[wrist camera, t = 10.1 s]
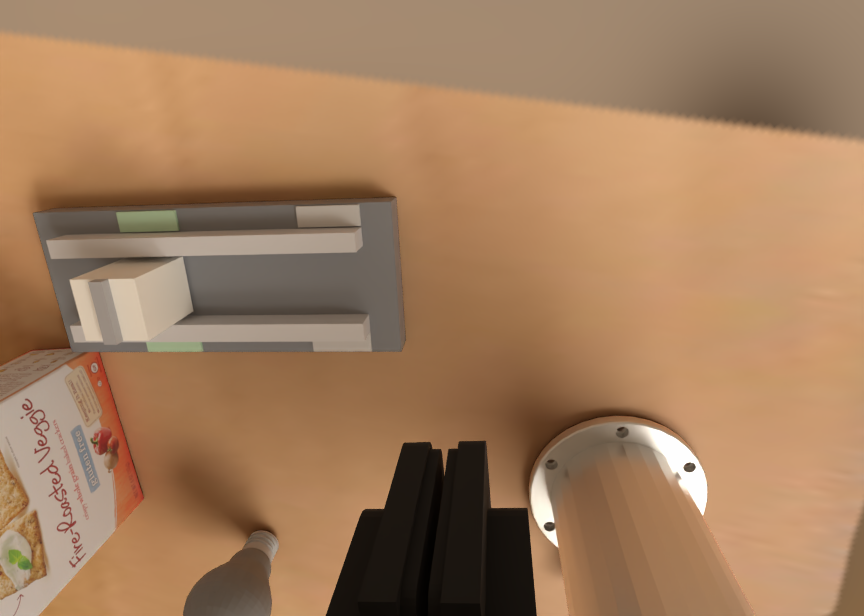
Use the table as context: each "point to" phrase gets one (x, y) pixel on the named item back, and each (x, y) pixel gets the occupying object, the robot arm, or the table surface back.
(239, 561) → the light bulb
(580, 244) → the table surface
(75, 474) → the cracker box
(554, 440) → the robot arm
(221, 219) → the switch panel
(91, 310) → the switch tab
